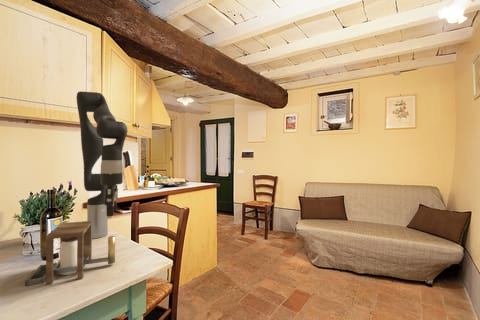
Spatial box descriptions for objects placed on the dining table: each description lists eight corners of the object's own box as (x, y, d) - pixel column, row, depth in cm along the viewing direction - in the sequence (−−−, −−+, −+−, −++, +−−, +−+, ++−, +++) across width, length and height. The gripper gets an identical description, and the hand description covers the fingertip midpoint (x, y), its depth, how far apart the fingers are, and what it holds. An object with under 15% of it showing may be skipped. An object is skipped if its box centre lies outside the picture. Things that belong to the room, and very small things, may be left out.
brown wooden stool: (61, 264, 89) (61, 223, 89) (91, 260, 93) (91, 220, 93) (46, 284, 75) (46, 235, 74) (82, 278, 79) (82, 232, 78)
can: (70, 276, 80) (70, 242, 80) (55, 274, 81) (55, 241, 81) (86, 268, 86) (86, 236, 86) (72, 266, 87) (72, 235, 87)
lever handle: (60, 265, 86) (60, 238, 86) (116, 257, 93) (116, 233, 93) (51, 277, 78) (51, 247, 78) (113, 267, 85) (113, 240, 85)
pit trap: (40, 269, 85) (40, 265, 85) (56, 266, 87) (56, 262, 87) (24, 286, 74) (24, 281, 74) (44, 282, 76) (44, 278, 76)
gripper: (103, 171, 94) (103, 210, 94) (97, 173, 80) (96, 218, 81) (124, 170, 96) (123, 208, 97) (120, 172, 83) (120, 217, 83)
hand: (111, 213), depth 89 cm, fingers open, 8 cm apart
